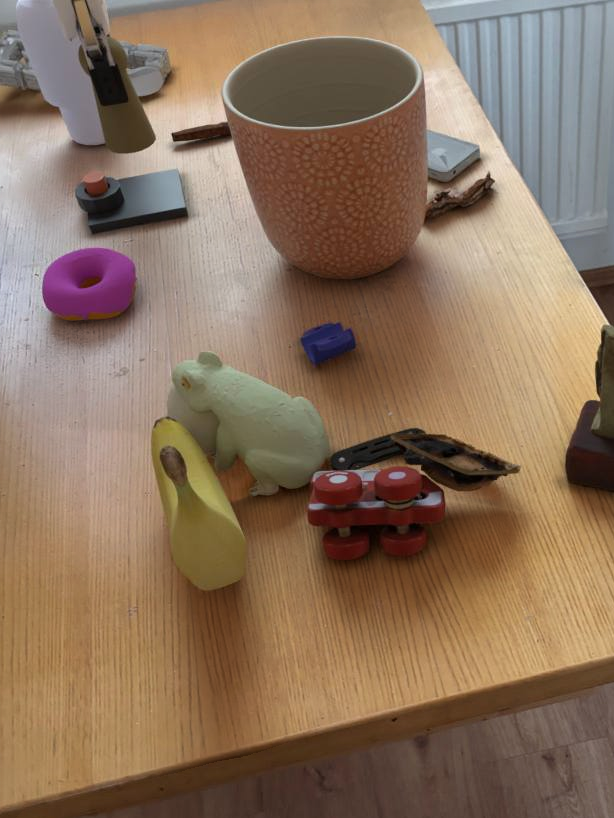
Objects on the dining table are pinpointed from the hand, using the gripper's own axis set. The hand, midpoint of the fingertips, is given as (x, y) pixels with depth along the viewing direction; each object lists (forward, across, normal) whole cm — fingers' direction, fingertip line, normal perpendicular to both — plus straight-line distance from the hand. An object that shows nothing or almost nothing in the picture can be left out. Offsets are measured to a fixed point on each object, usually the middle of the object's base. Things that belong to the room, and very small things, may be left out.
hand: (113, 90), depth 107 cm
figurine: (+14, +51, +6) cm, 53 cm away
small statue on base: (+14, +64, +39) cm, 76 cm away
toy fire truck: (+9, +68, +14) cm, 70 cm away
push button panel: (+14, 0, -2) cm, 14 cm away
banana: (+14, +62, 0) cm, 64 cm away
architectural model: (+9, -36, -6) cm, 38 cm away
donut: (+14, +20, -8) cm, 25 cm away
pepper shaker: (+6, 0, 0) cm, 6 cm away
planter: (+14, +20, +22) cm, 33 cm away
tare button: (+11, 0, -6) cm, 12 cm away
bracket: (+11, +38, +16) cm, 43 cm away
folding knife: (+13, +54, +17) cm, 58 cm away
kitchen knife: (+14, -16, +15) cm, 26 cm away
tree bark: (+15, +12, +36) cm, 41 cm away
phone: (+12, +1, +35) cm, 37 cm away
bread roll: (+13, +61, +28) cm, 69 cm away
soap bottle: (+14, -21, -6) cm, 25 cm away
